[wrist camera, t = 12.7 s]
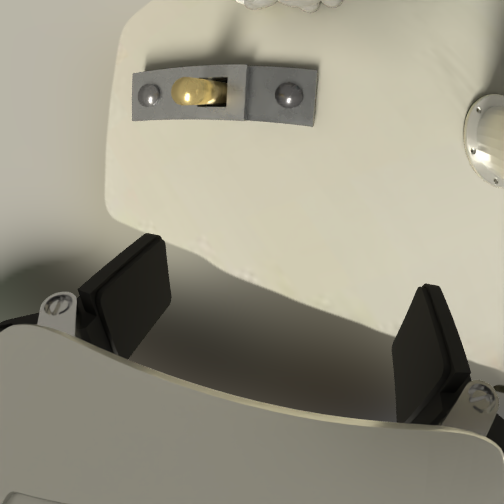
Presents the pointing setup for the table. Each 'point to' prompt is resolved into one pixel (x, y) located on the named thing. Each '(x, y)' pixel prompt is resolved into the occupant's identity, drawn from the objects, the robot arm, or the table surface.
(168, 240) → the table surface
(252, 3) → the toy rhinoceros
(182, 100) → the pin
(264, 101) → the grey flat bar
